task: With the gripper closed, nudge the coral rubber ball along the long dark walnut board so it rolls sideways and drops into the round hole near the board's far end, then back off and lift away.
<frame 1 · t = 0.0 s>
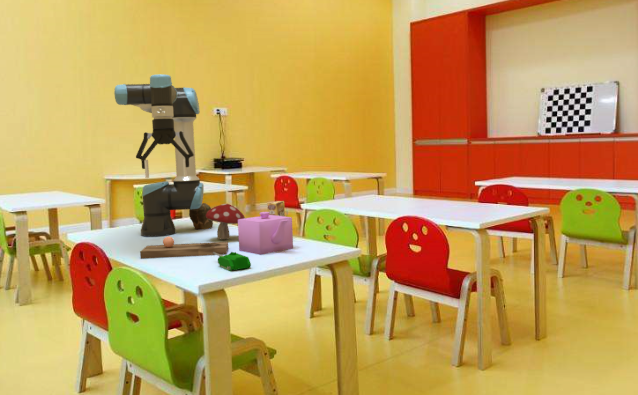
hand: (166, 177, 210), 28 cm above the table, tool pointing down, fingers open, 13 cm apart
teapot: (268, 250, 213), on the table
toy tank: (229, 266, 188), on the table
candy box: (277, 239, 235), on the table
walnut board: (185, 253, 211), on the table
decorative mushroom: (226, 240, 238), on the table
coral ball: (168, 241, 210), point 4 cm above the table, touching walnut board
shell: (201, 228, 273), on the table
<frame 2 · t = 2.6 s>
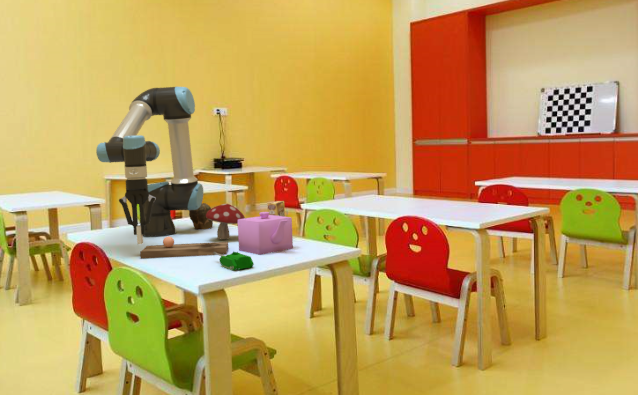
hand: (140, 243, 209), 4 cm above the table, tool pointing down, fingers closed
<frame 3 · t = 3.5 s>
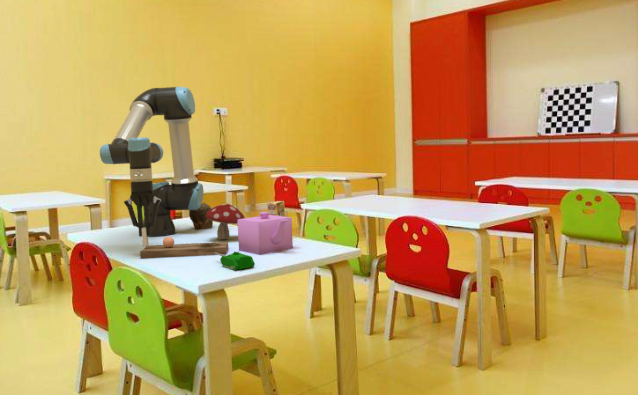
hand: (145, 245, 209), 4 cm above the table, tool pointing down, fingers closed
nothing on the table moved.
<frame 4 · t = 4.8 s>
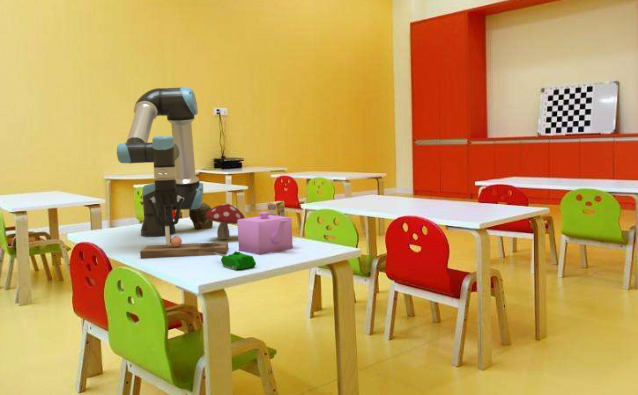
hand: (168, 243, 210), 4 cm above the table, tool pointing down, fingers closed
coral ball: (176, 241, 210), point 4 cm above the table, tilted 71°, touching gripper, walnut board
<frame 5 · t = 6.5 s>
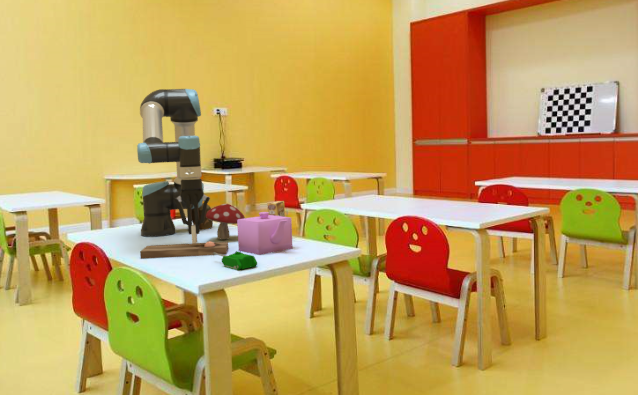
hand: (194, 242, 211), 4 cm above the table, tool pointing down, fingers closed
coral ball: (209, 246, 212), point 2 cm above the table, tilted 48°
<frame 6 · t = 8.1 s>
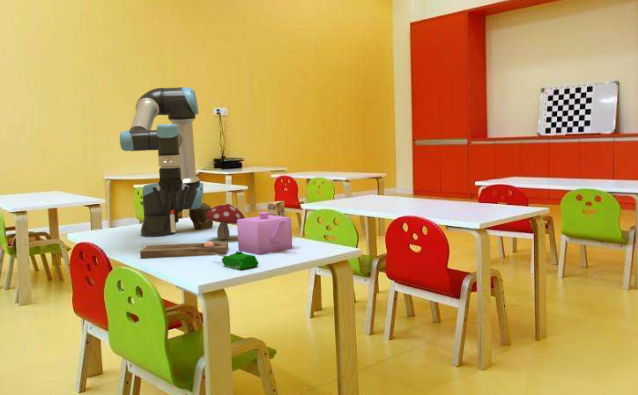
hand: (173, 231, 211), 8 cm above the table, tool pointing down, fingers closed
coral ball: (209, 246, 212), point 2 cm above the table, tilted 42°
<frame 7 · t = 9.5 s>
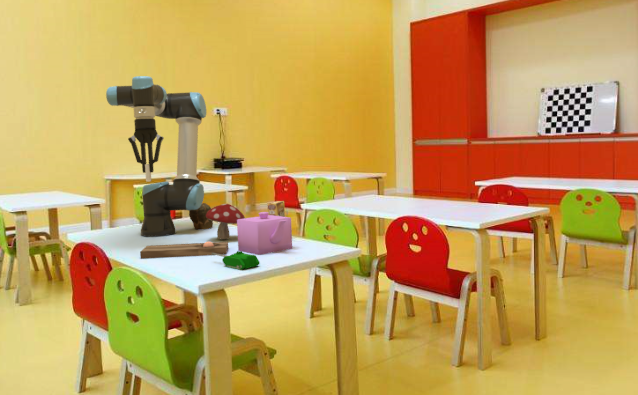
hand: (148, 181, 218), 26 cm above the table, tool pointing down, fingers closed
coral ball: (208, 246, 212), point 2 cm above the table, tilted 36°
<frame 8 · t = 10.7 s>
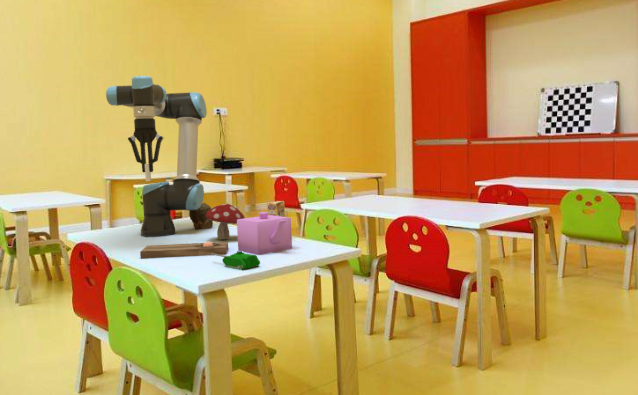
hand: (148, 180, 218), 26 cm above the table, tool pointing down, fingers closed
at the end: coral ball 0.1 cm from the target spot on the walnut board, point 2.0 cm above the walnut board's base; the gripper is holding nothing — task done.
